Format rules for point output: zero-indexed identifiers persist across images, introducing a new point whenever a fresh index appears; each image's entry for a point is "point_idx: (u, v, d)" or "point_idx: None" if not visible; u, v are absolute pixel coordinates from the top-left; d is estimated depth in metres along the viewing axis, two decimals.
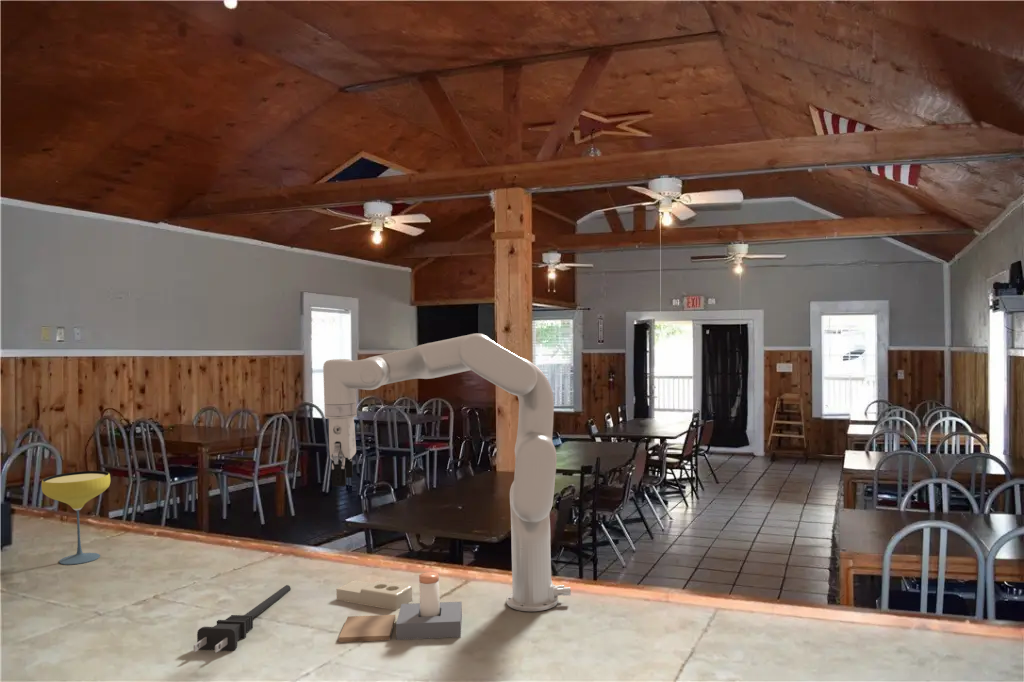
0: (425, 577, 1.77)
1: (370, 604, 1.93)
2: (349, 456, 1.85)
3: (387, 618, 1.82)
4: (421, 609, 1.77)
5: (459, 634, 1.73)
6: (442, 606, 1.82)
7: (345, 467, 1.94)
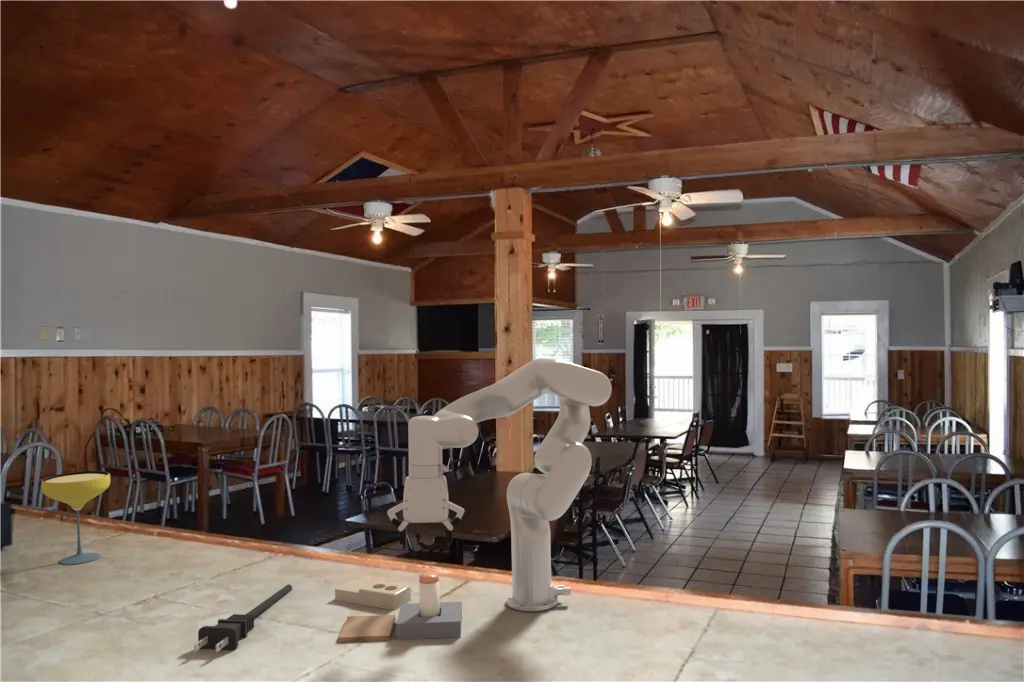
0: (425, 577, 1.77)
1: (369, 604, 1.93)
2: None
3: (387, 618, 1.82)
4: (421, 609, 1.77)
5: (459, 634, 1.73)
6: (442, 606, 1.82)
7: (406, 535, 1.77)
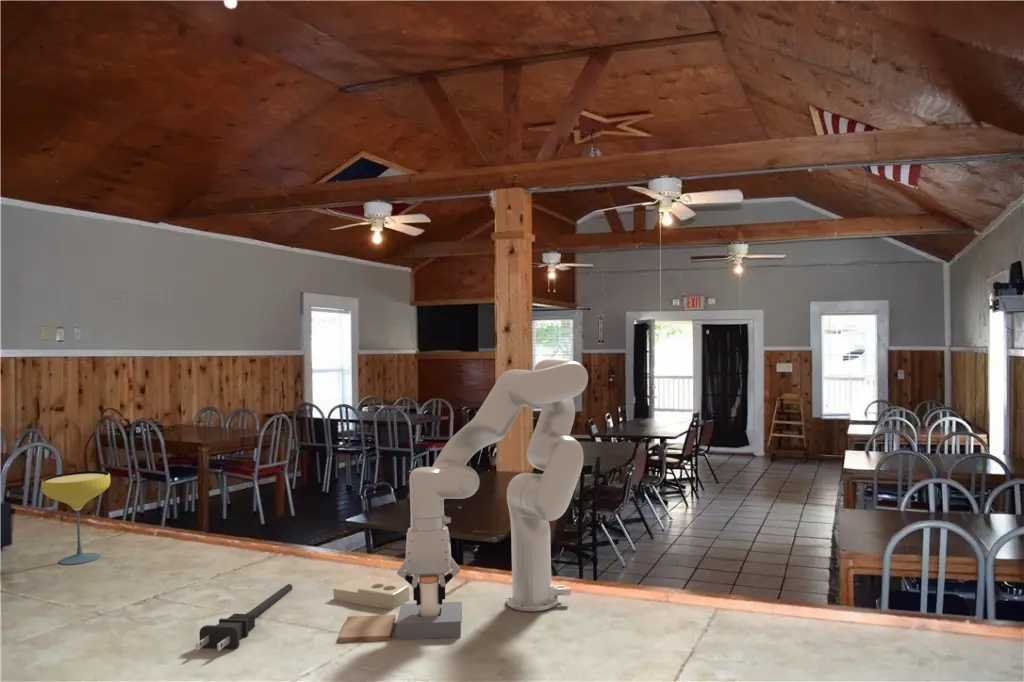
0: (425, 577, 1.77)
1: (367, 604, 1.93)
2: None
3: (387, 618, 1.82)
4: (421, 609, 1.77)
5: (459, 634, 1.73)
6: (442, 606, 1.82)
7: None
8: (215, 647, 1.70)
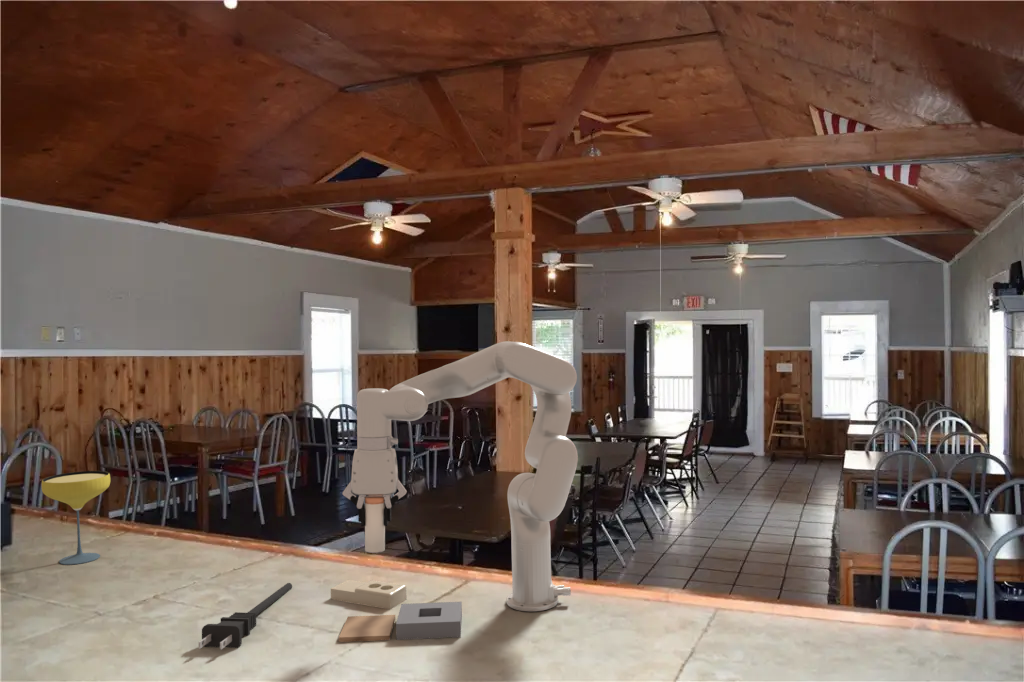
0: (371, 497, 1.76)
1: (364, 603, 1.94)
2: None
3: (387, 618, 1.82)
4: (366, 530, 1.76)
5: (459, 634, 1.73)
6: (442, 606, 1.82)
7: None
8: (217, 646, 1.70)
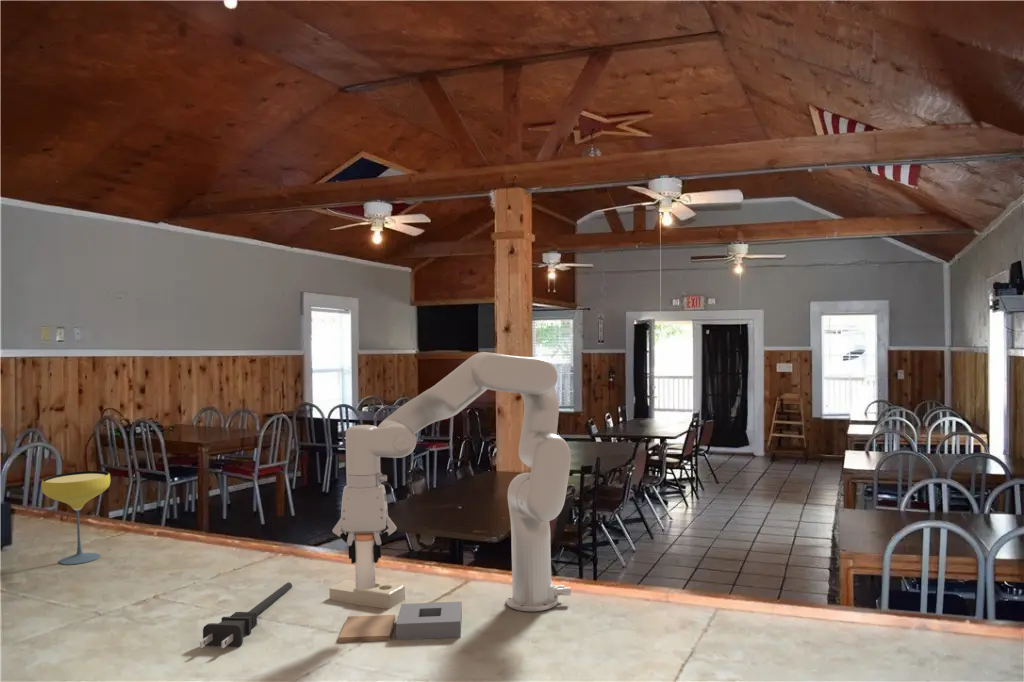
0: (360, 534, 1.76)
1: (363, 603, 1.94)
2: None
3: (387, 618, 1.82)
4: (356, 567, 1.76)
5: (459, 634, 1.73)
6: (442, 606, 1.82)
7: None
8: (218, 645, 1.71)
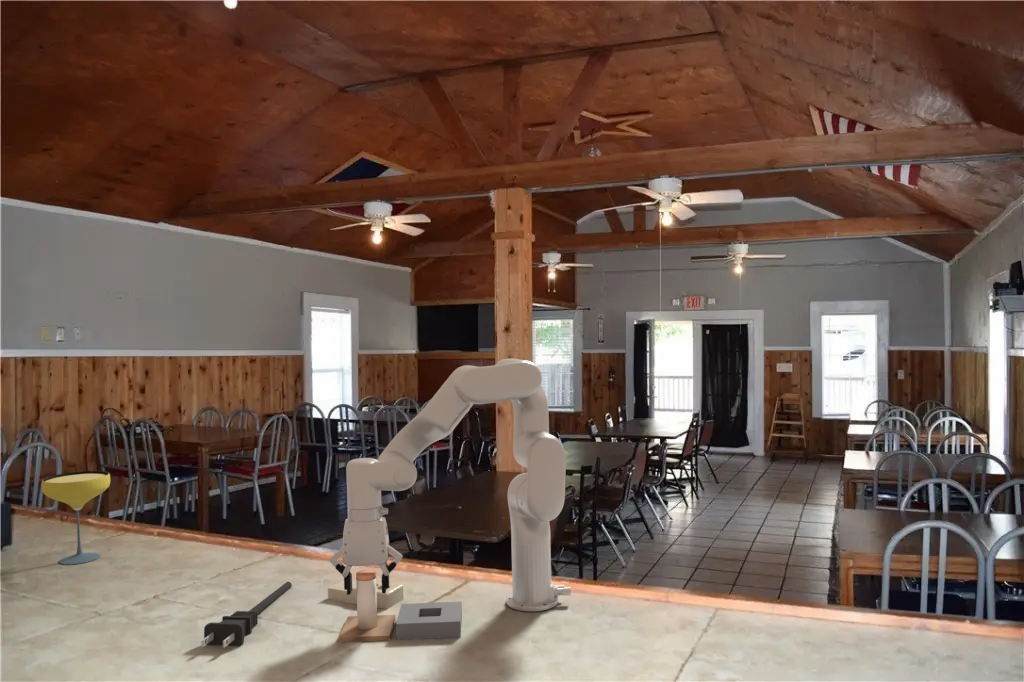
0: (361, 574, 1.76)
1: None
2: None
3: (387, 618, 1.82)
4: (358, 607, 1.76)
5: (459, 634, 1.73)
6: (442, 606, 1.82)
7: (350, 581, 1.77)
8: (220, 644, 1.71)
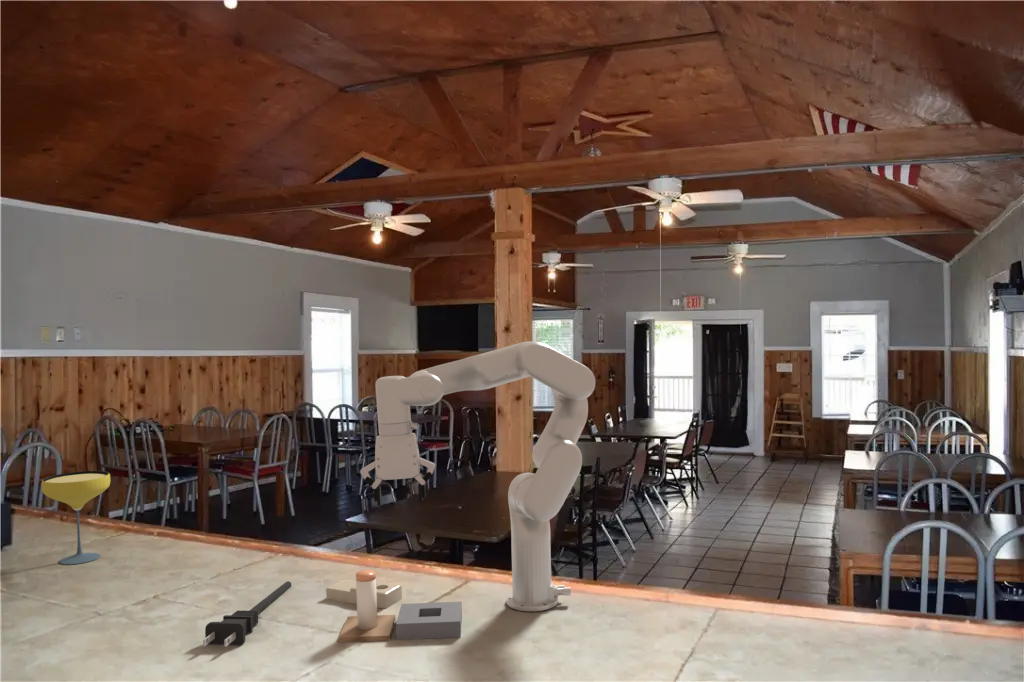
0: (361, 575, 1.76)
1: None
2: None
3: (387, 618, 1.82)
4: (358, 607, 1.76)
5: (459, 634, 1.73)
6: (442, 606, 1.82)
7: (380, 493, 1.82)
8: (221, 643, 1.72)
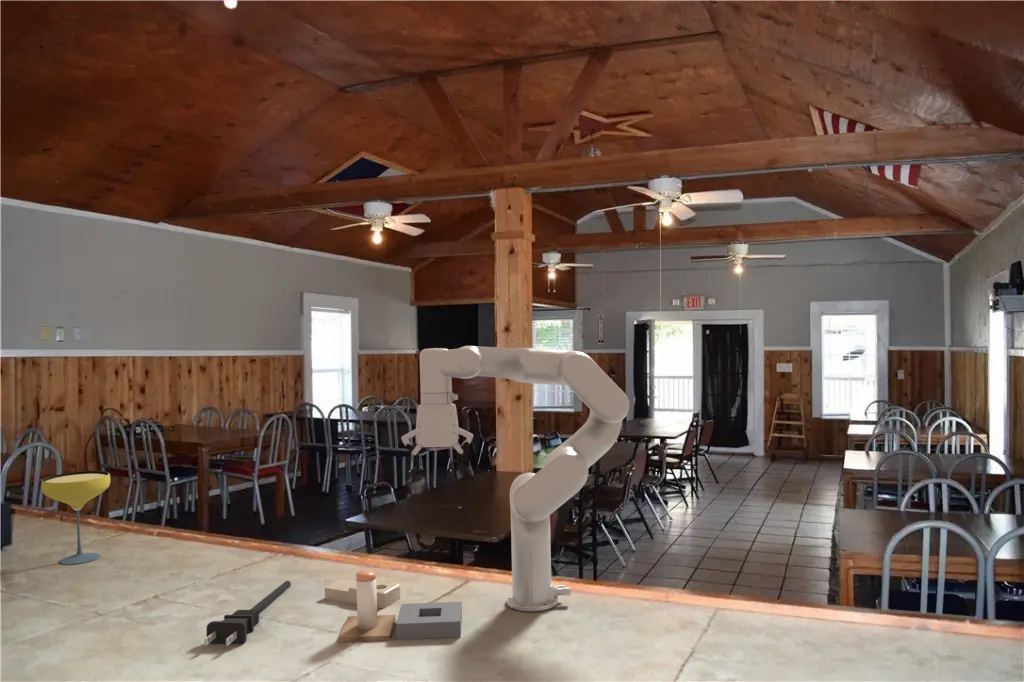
0: (362, 575, 1.76)
1: None
2: None
3: (387, 618, 1.82)
4: (358, 607, 1.76)
5: (459, 634, 1.73)
6: (442, 606, 1.82)
7: (419, 460, 1.90)
8: (222, 642, 1.72)
